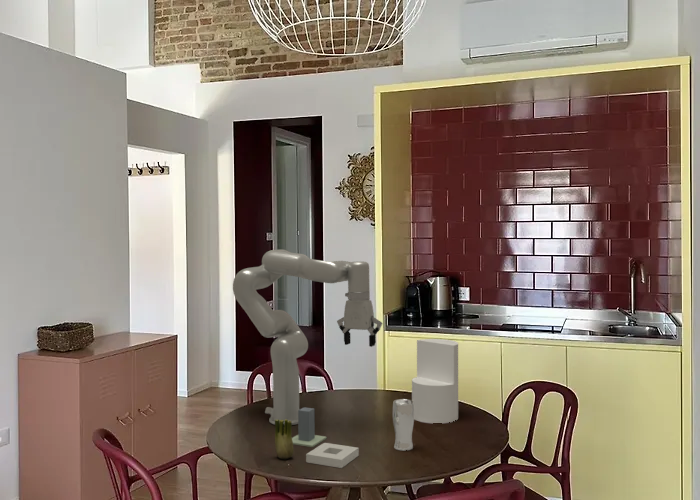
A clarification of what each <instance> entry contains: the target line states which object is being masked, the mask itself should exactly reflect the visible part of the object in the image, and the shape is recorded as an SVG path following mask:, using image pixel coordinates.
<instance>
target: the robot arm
mask: <svg viewBox="0 0 700 500" xmlns="http://www.w3.org/2000/svg"><path fill="white" fill-rule="evenodd" d="M283 276H290V277H295V278H296V277H297V278H301V279H303V280H304V279H305V280H308V281H312V282H319V283H325V284H337V283H342V282H347V289H348V290H347V292H346V293H345V294H344V296H345V297H346V298H347V300H346V301H345V306H344V313H343V317H342V318H339V319H338V320H336V323H337V324H338V328H339V330H340V331H341V332H342V334H343V342H344V345H345V346H346V345H349V344H351V332H350V331H351V330H358V331H359V330H360V331H363V330H364V331H365V330H367V332H368V333H369V335H368V344H369V345H368V346H369V347H371V348H372V347H374V346H376V335H377V334H378V332H379V331H380V330H381V328H382V326H383V322H382V321H381V320H379V319H377V318H376V317H375V313H374V308H373V302H372V300H371V298H370V296H371V295H370V291H371V289H370V265H369V262H367V261H346V260H335V261H334V260H333V261H327V260H320V259H313V258H311V257H309V256H308V255H307V254H304V253H298V252H290V251H289V250H286V249H284V248H283V249H272V250H269V251H266V252H265V253H264V254H263V256H262V258H261V265H259V266H253V267H247V268H243V269H241V270H240V271H238V272H237V273H236V275H235V277H234V278H233V282H232V291H233V292H232V293H233V295H234V299H236V301H237V302H238V305H240V306H241V308H242V310H244V312H245V313H246V314H247V316H248V317H249V319H250V321H251V322H252V323H253V325H254V326H255V328H256V329H257V331H258V332H259V333H260V335H261V336H263V337H264V338H267V339H268V338H274V337H277V338H276V339H274V341H273V342H272V344H271V346H270V359H271V364H272V384H273V385H272V386H273V389H272V393H273V394H272V395H273V397H272V399H273V400H272V401H273V407H270V406H267V407H266V408H265V411H264V413H265V414H266V415H267V414H268V415H270V416H269V423H270V424H272V425H275V420H276V419H279V421H280V420H284V422H285V419H287V420H288V421H291V422H292V426H294V425H298V410H300V369H299V365H298V360H297V359H298V358H300V357H302V356H304V355H305V354H306V353H307V351H308V349H309V341H308V339H307V337H306V335H305V333H304V332H303V331H302V329H301V328H300V327H299V325H298V324H297V323H296V321H295V320H294V319H293V317H292V316H291V314H289V313H288V312H287V311H285V310H283V309H272V307H271V306H270V304H269V303H268V302H267V300H266V299H265V298H264V297H263V296H262V295H261V294H259V293H258V291H257V290H261V289H265V288H268V287H269V286H271V285H273V283H275V282H276V281H278V279H280V278H281V277H283ZM375 324H376V326H375ZM374 326H375V327H374Z"/></svg>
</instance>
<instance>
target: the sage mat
mask: <svg viewBox="0 0 700 500" xmlns="http://www.w3.org/2000/svg"><path fill="white" fill-rule="evenodd" d="M327 438H328V437H327V436H324V435H317V434H315V438H314V439H312V440H311V441H302V440H298V434H296V435H294V436H293V437H292V441H293V446H295V445H296V446H302V447H308V448H314V447H315V446H317V445H319V444H320V443H321V442H324V441H325V440H327Z"/></svg>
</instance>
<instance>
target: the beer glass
mask: <svg viewBox="0 0 700 500" xmlns="http://www.w3.org/2000/svg"><path fill="white" fill-rule="evenodd" d="M414 422H415V419H414V402H413V401H412V399H407V398H400V399H395V400H393V403H392V425H393V427H394V434H395V436H394V437H395V440H394V446H393V448H394V449H395V450H397V451H404V452H405V451H406V450H407V451H411V450H413V448H414V445H413V429H414ZM407 451H406V452H407Z"/></svg>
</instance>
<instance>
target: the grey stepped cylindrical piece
mask: <svg viewBox="0 0 700 500" xmlns="http://www.w3.org/2000/svg"><path fill="white" fill-rule="evenodd" d="M411 400H412V401H413V402H414V421H418V422H420V423H425V424H433V423H442V424H450V423H453V421H454V422H456V421H457V420H458V419H459V342H458V341H455V340H452V339H451V340H450V339H445V338H444V339H442V338H425V339H423V338H422V339H416V377H415V376H414V377H413V378H412V379H411ZM455 420H456V421H455ZM449 422H450V423H449Z"/></svg>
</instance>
